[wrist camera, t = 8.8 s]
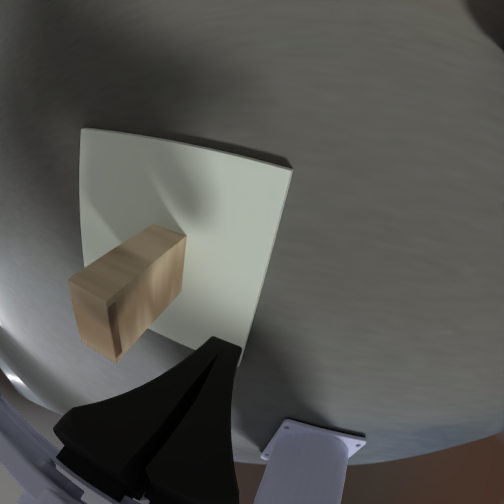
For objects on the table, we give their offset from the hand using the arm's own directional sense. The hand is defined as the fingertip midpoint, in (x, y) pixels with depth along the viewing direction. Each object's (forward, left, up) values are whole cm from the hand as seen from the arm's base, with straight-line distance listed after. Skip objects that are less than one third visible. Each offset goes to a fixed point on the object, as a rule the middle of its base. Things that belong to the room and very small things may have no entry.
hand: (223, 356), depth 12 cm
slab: (0, +6, -5) cm, 8 cm away
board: (0, +7, -6) cm, 9 cm away
